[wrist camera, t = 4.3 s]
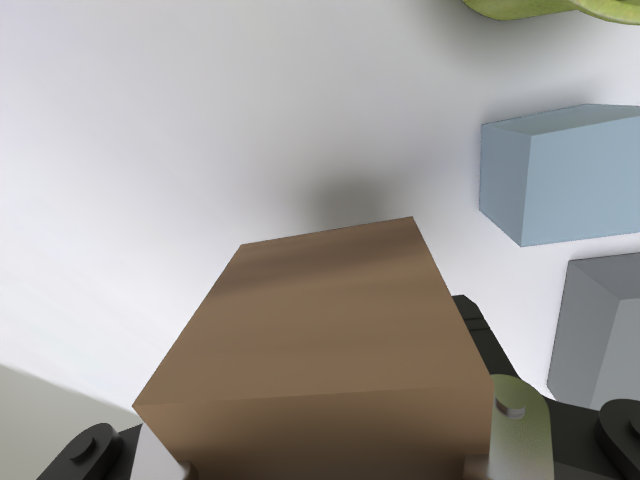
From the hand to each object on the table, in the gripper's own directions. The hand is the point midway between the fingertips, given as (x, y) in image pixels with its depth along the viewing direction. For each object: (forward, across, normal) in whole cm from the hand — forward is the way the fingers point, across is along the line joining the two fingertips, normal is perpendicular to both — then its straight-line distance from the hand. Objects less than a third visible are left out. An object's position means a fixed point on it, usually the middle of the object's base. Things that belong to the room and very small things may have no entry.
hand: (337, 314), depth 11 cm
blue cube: (+9, -11, -1) cm, 14 cm away
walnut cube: (+1, 0, 0) cm, 1 cm away
